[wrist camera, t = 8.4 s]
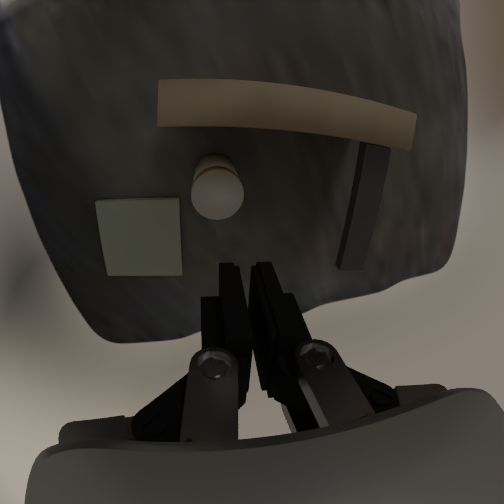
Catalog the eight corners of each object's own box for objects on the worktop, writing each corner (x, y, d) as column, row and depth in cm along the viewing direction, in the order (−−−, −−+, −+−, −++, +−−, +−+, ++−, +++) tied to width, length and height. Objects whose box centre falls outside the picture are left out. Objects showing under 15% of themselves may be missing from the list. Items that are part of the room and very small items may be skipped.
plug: (194, 153, 26) (191, 169, 20) (236, 153, 27) (245, 170, 21) (194, 192, 28) (191, 220, 22) (234, 192, 29) (242, 219, 23)
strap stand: (176, 87, 23) (159, 79, 14) (356, 104, 26) (416, 114, 17) (174, 118, 24) (157, 127, 16) (353, 131, 27) (411, 151, 18)
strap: (360, 141, 20) (366, 143, 19) (384, 146, 21) (390, 148, 20) (335, 264, 26) (339, 270, 25) (357, 263, 26) (362, 269, 25)
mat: (96, 200, 27) (95, 202, 26) (179, 197, 28) (178, 199, 28) (109, 272, 31) (107, 275, 31) (182, 272, 32) (182, 275, 32)
